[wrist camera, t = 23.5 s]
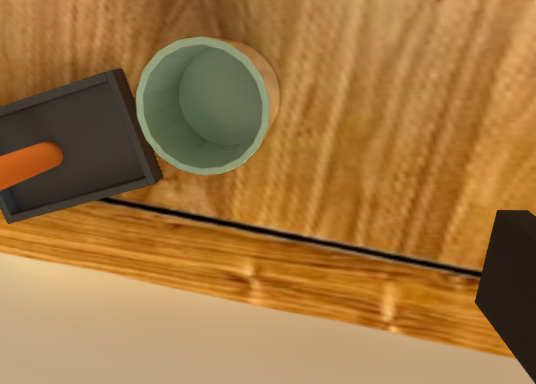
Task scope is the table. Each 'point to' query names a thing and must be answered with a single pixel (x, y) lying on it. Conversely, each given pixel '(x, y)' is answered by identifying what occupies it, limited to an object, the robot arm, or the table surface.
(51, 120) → the pen tray
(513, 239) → the robot arm
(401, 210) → the table surface
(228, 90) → the pen cup
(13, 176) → the marker
